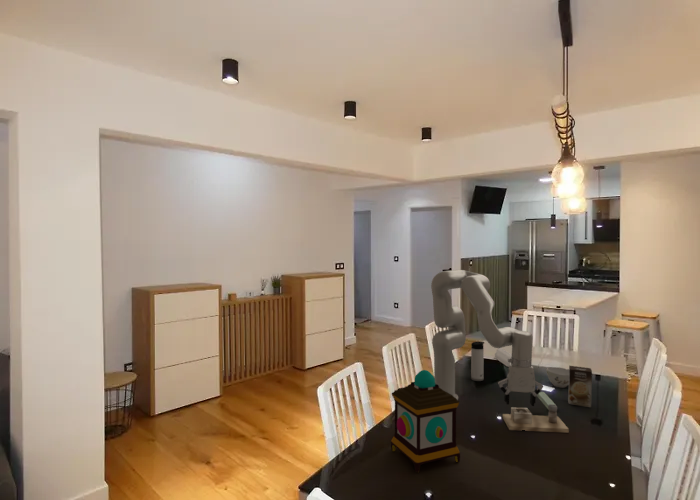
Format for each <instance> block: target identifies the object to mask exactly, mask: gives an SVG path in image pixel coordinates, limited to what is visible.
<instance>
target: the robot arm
mask: <svg viewBox="0 0 700 500" xmlns="http://www.w3.org/2000/svg"><path fill="white" fill-rule="evenodd" d="M430 286H431V294H432V305H433V320H434V321H433V322H434V324H435V326H436V327H438V328H441V329H444V330H441V331H437V332H436V333H435V334H434V335H433V336H432V339H431V343H432V349H433V361H434V362H433V363H434V364H433V365H434V366H433V368H434V369H433V371H434V372H433V374H434V375H433V376H434V378H435V384H437V385H439V388H441V389H442V390H444V391H446V392H448V393H449V394H451V395H453V397H455V398H456V399H457V400H458V401H459V395H458V394H457V393H456V360H455V359H456V358H455V355H454V353H453V351H454V350H457V349H461V348H462V347H463V346H465V344H466V341H467V340H466V339H467V338H466V336H467V334H466V319H465V314H464V311H463V310H462V309H461V308H460V307H459V306H458V305H457V306H456V305H453V302H452V296H451V293H450V292H449V290H453V289H462V292H463V293H464V294H465V296H466V297H467V299H468V300H469V302H470V303H471V305H472V307H473V308H474V310H475V312H476V313H477V323H478V328H479V331H480V333H481V335H482V336H483V338H484V339H485V340H486V342H487V343H488V344H489V345H490V346H491V347H492V348H494V349H498V348H505V347H510V346H511V354H512V357H511V359H508V362H510V363H511V364H510V365H509V367H508V370H507V375H506V378H504V379H502V380H500V381H497V384H498V387H499V388H500V390H501V391H502V392H503V393H504V397H503V399H504V402H505V403H506V405H509V404H510V394H509V393H511V392H517V393H518V392H519V393H530V396H529V398H530V399H529V404H530V405H531V406H532V407H535V404H536V397H537V394H539V393H540V392H542V389H543V388H544V385H543V384H542V383H540V382H538V381H536V376H535V368H534V366H532V360H533V359H532V357H533V355H532V354H533V334H532V333H531V332H529V331H526V330H519V329H517V328H513V327H512V326H505V327H500V328H499V327H497V325H496V324H495V322H494V320H493V317H492V312H493V309H494V308H495V306H496V305H495V304H496V302H495V301H494V299H493V298H492V296H491V295H490V293H489V290H490V288H491V282H490V279H489V278H488V277H487V276H485V275H484V274H481V273H477V272H472V271H469V270H464V269H455V270H454V269H453V270H444V271H440V272H439V273H437V274H435V275H434V276H433V278H432V280H431V285H430ZM445 328H447V329H445ZM505 384H506V387H504V386H503V385H505ZM536 387H537V388H536Z"/></svg>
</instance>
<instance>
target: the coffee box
mask: <svg viewBox="0 0 700 500" xmlns="http://www.w3.org/2000/svg"><path fill="white" fill-rule="evenodd" d="M568 369H569V385H568V393H567V401H568V402H567V403H568V405H573V406H574V405H575V406H578V407H579V406H580V407H584V408H585V407H586V408H592V387H593V386H592V379H593V377H592V376H593V371H592V368H591V367H583V366H576V365H569V368H568Z"/></svg>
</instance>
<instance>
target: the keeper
mask: <svg viewBox="0 0 700 500" xmlns="http://www.w3.org/2000/svg"><path fill="white" fill-rule="evenodd" d="M536 397H537V398H538V399H539V400H540V401H541V403H542V404H543V405H544V406H545V408H546V409H547V410H548V412H549V411H552V412H557V413H558V406H557V405H556V403H554V401H553V400H552V399H551V398H550V397H549V396H548V394H546V393H545V392H544V391H541V392H540V393H539V394H537V396H536Z"/></svg>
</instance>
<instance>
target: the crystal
mask: <svg viewBox="0 0 700 500" xmlns="http://www.w3.org/2000/svg"><path fill="white" fill-rule="evenodd" d="M511 357H512V352H509V351H508V350H506V349H504V347H502V348H496V351H495V352H494V358H495V359H496V360H498V361H499V362H500V363H501V364H504V365H505V366H506V367H508V368H509V365H510V364H511V363H510V362H508V359H511Z"/></svg>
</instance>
